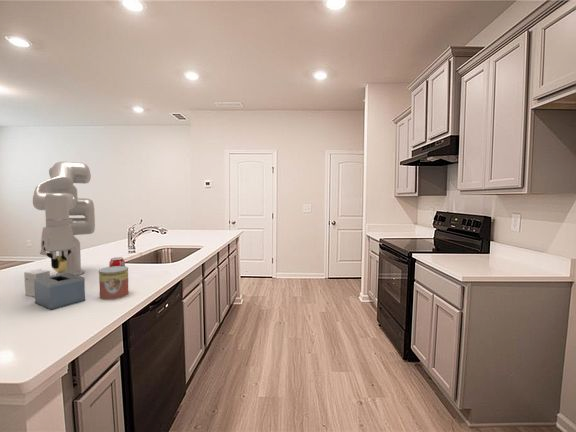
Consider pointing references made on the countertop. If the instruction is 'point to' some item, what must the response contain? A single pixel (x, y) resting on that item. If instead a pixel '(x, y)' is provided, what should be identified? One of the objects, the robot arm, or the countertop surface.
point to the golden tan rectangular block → (60, 265)
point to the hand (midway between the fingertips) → (59, 267)
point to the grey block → (59, 290)
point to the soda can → (117, 262)
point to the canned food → (113, 282)
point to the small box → (30, 280)
